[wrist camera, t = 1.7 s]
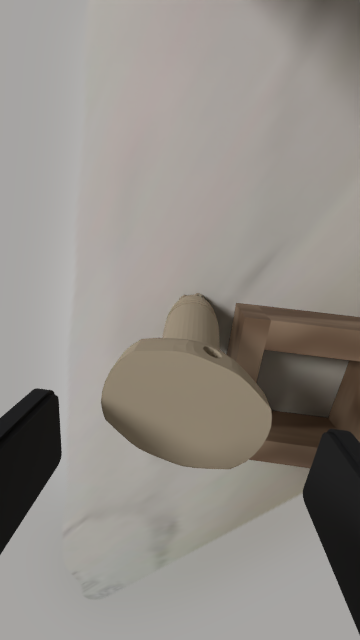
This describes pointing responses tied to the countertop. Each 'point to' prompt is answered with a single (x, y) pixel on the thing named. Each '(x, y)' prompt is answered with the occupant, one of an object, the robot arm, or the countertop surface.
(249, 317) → the square frame
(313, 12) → the countertop surface
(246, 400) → the handle
